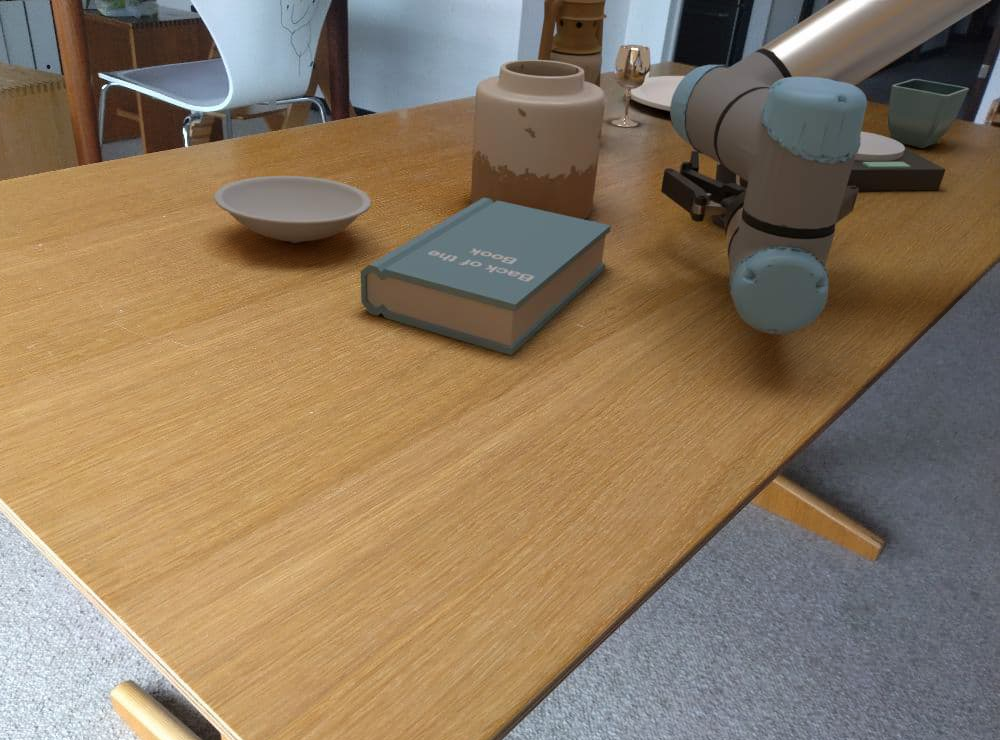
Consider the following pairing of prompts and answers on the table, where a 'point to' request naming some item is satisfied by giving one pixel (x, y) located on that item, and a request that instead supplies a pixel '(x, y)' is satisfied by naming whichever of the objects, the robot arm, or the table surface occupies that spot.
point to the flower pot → (923, 111)
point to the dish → (292, 206)
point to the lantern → (574, 35)
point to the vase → (538, 137)
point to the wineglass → (631, 74)
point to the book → (487, 273)
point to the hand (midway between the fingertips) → (753, 168)
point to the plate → (657, 91)
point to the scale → (891, 167)
